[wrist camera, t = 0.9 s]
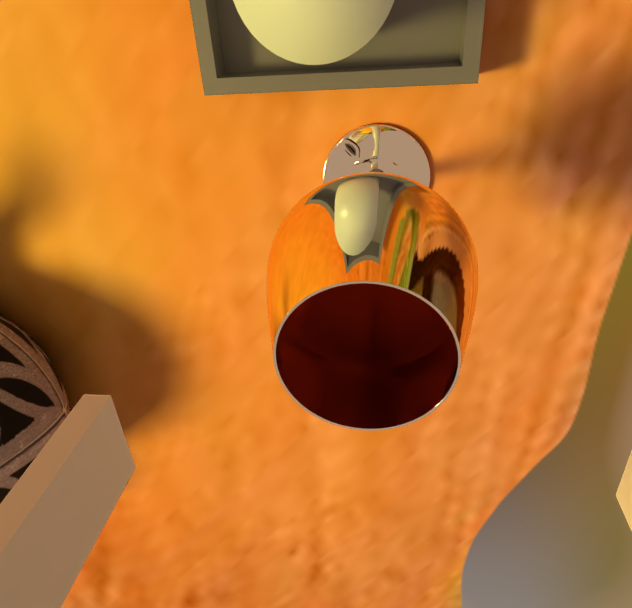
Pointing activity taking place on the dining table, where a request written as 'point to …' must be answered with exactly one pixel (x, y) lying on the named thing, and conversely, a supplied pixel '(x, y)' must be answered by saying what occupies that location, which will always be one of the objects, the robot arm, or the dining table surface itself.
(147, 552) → the dining table surface
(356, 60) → the tray
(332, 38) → the cream rounded cylinder
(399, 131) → the wineglass
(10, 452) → the teapot
